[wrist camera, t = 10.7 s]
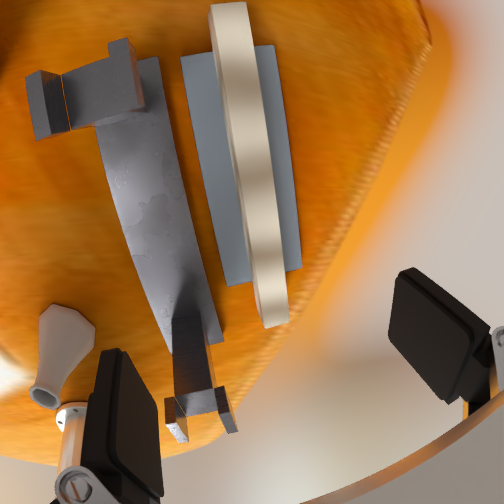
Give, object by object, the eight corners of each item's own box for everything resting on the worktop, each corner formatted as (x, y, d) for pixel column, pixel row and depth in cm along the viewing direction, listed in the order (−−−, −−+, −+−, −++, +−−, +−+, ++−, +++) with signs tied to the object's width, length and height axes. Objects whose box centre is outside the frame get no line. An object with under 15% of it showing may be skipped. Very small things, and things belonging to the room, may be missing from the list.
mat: (298, 263, 31) (302, 267, 30) (225, 281, 30) (227, 287, 29) (270, 46, 22) (273, 44, 21) (180, 59, 21) (180, 57, 20)
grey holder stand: (222, 334, 33) (249, 437, 21) (170, 346, 32) (177, 452, 20) (158, 58, 20) (138, 3, 8) (89, 79, 19) (10, 54, 8)
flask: (84, 363, 31) (70, 430, 22) (32, 334, 28) (6, 398, 19) (106, 324, 29) (91, 397, 21) (48, 291, 26) (15, 357, 18)
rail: (280, 304, 32) (289, 321, 29) (257, 310, 31) (265, 328, 29) (237, 13, 19) (245, 1, 16) (207, 16, 19) (211, 4, 16)
